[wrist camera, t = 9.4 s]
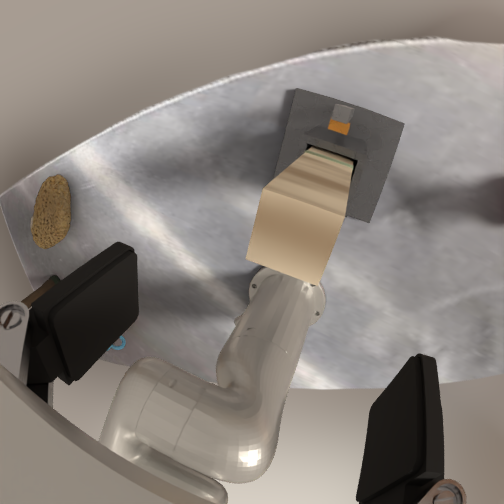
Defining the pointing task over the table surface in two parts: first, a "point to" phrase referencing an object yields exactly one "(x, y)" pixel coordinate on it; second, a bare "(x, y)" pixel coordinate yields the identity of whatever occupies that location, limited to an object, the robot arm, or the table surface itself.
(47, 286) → the stick grenade
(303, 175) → the post
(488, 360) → the table surface
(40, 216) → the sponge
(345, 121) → the grey socket stand
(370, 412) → the robot arm
